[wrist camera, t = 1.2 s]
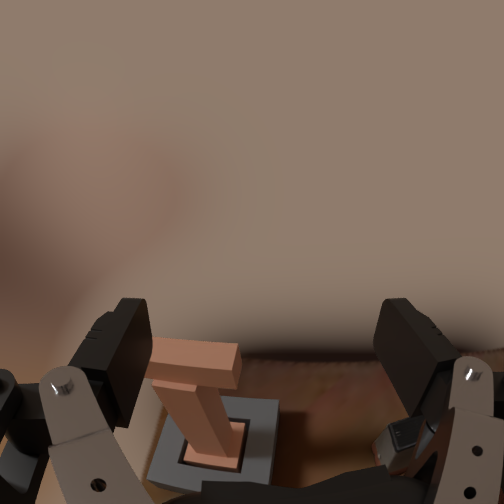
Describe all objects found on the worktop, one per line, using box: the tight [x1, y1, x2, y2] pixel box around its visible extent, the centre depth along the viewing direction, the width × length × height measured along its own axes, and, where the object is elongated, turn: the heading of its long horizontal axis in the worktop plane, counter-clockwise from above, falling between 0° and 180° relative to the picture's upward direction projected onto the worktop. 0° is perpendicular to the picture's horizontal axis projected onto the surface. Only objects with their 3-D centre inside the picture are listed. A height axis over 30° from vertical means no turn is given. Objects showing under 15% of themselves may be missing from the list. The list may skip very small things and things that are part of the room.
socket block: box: [146, 396, 280, 494], centre depth 26 cm, size 11×11×3 cm
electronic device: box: [371, 415, 425, 475], centre depth 21 cm, size 4×10×8 cm, turn 93°
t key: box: [144, 337, 248, 474], centre depth 22 cm, size 8×5×17 cm, turn 82°
